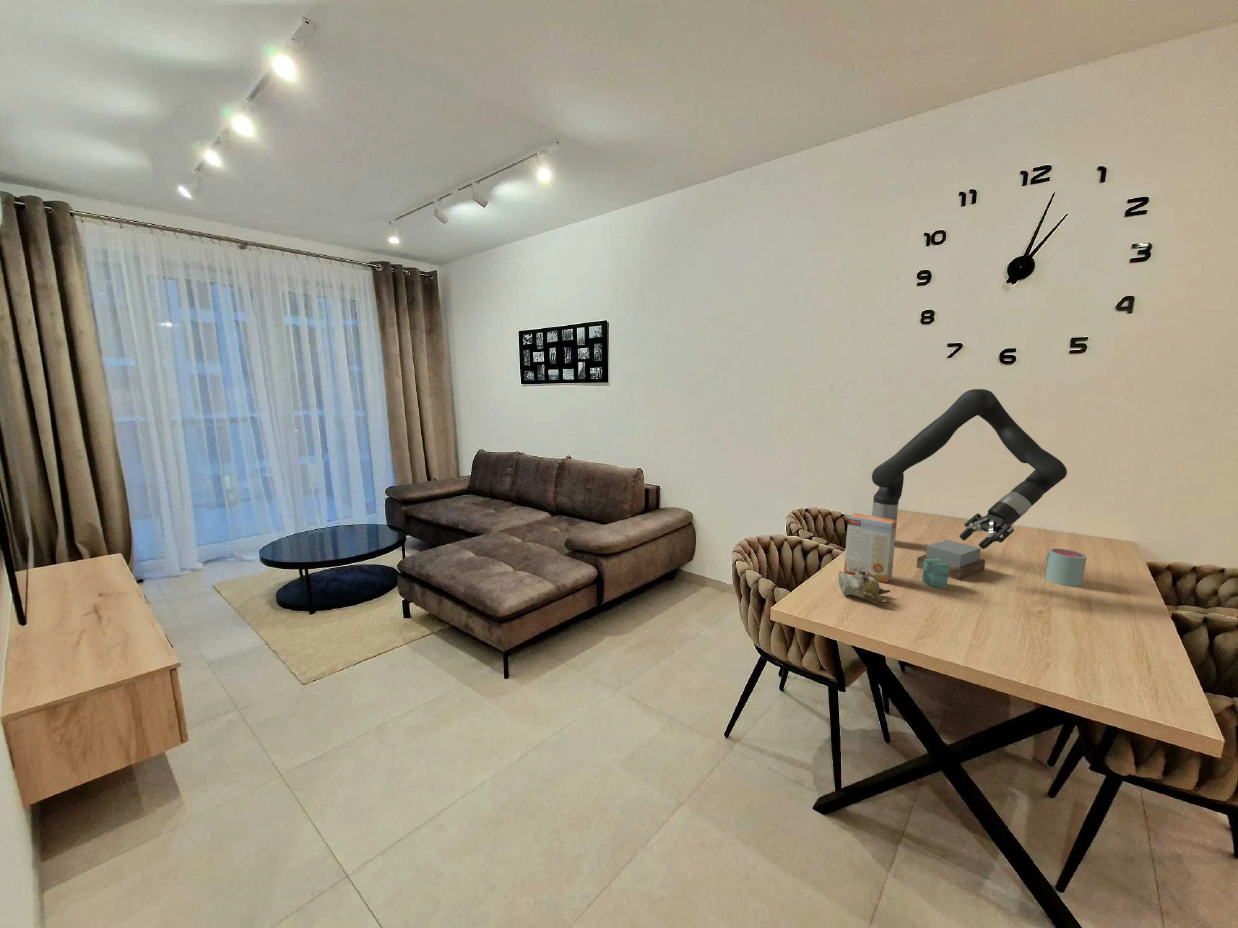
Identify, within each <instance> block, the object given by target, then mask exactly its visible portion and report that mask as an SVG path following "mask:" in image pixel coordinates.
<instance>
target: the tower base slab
mask: <svg viewBox="0 0 1238 928" xmlns="http://www.w3.org/2000/svg"><path fill="white" fill-rule="evenodd" d="M924 559H929V558H926V554H923V555H919V556H917V561H916V568H917V569H921V570H923V568H924ZM985 566H986V559H983V558H980V559H979V561H976V562H973V563H970V564H968V565H965V566H962V567H956V566H953V565H949V573H948V579H949V578H951V579H952V580H956V581H961V580H964V579H966V578H968V577H969V578H970V577H971V576H974V575H976V574H979V573H980V572H983V571H985Z"/></svg>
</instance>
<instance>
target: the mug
mask: <svg viewBox="0 0 1238 928" xmlns="http://www.w3.org/2000/svg"><path fill="white" fill-rule="evenodd" d="M1087 557H1088V556H1087V555H1086V554H1085V553H1082V552H1081V551H1080V552H1079V551H1076V550H1071V549H1065V548H1050V549H1049V551H1048V552H1047V555H1046V564H1047V565H1046V572H1045V580H1047V581H1049V582H1050V583H1054V584H1056V585H1057V584H1058V585H1060V586H1065V587H1072V588H1073V587H1075V588H1078V587H1082V586H1083V581H1084V576H1085V570H1086V564H1087Z"/></svg>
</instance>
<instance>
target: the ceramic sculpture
mask: <svg viewBox="0 0 1238 928" xmlns="http://www.w3.org/2000/svg"><path fill="white" fill-rule="evenodd" d="M838 585H839V587H840V590H841V593H842V595H844V596H847V597H848V596H849V595H851V596H852V595H853V596H855V597H858V598H859V599H862V600H865V601H866V600H867V601H869V602H871V603H874V604H879V605H885V604H887V605H888V604H890V601H888V600H886V598H885V597H883V596H882V595H884V594H887V593H891V590H890V589H884V588H882V587H880V584H879V581H877V580H876V579H875V578H873V577H870V576H867V575H866V574H865V572H859V573H856V574H855V575H853V574H849V573H845V572H844V571H840V570H839V571H838Z"/></svg>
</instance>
